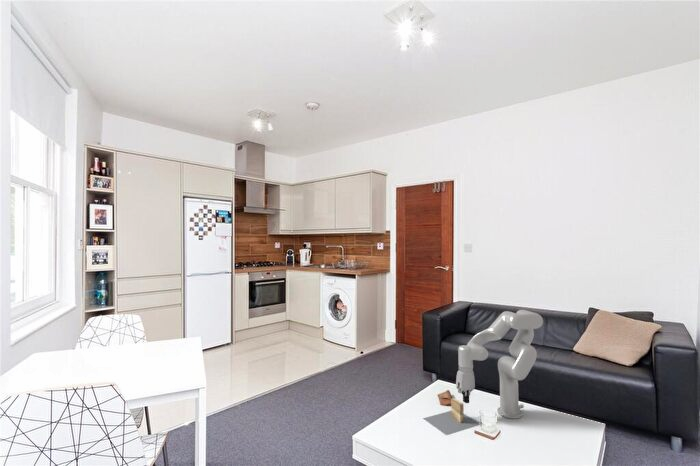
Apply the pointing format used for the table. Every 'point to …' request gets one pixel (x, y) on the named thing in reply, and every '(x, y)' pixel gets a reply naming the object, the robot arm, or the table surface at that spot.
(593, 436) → the table surface
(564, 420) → the table surface
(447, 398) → the sunglasses case
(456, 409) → the maple tile
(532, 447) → the table surface
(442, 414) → the rubber mat
